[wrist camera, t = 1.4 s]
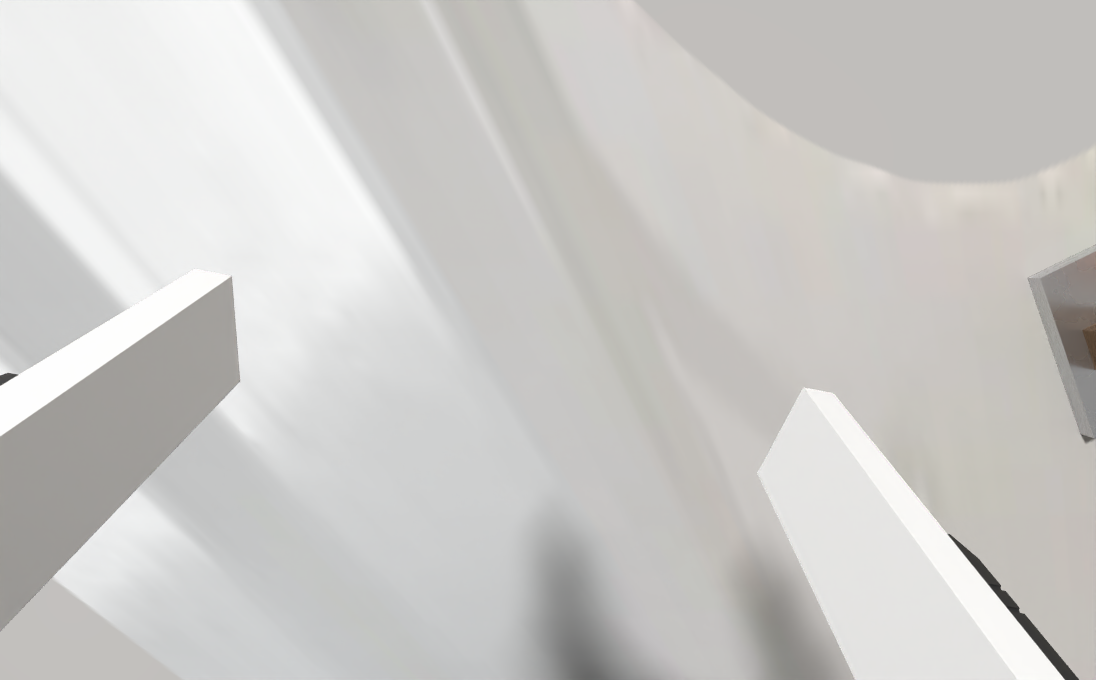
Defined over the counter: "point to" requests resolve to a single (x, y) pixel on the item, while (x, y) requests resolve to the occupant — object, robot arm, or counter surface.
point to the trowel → (1072, 329)
